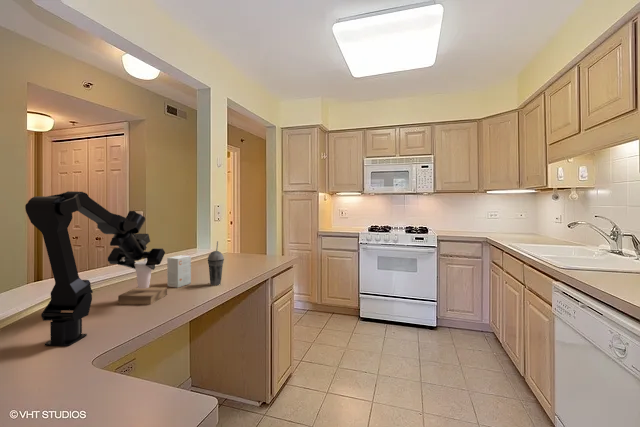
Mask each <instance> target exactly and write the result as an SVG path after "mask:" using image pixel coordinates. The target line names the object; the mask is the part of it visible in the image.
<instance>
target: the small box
mask: <svg viewBox="0 0 640 427" xmlns="http://www.w3.org/2000/svg"><path fill="white" fill-rule="evenodd" d="M166 262H167V263H166V265H167V270H166V272H167V273H166V277H167V282H166V284H167V285H166V286H167V287H171V288H180V287H184V286H187V285H190V284H192V256H191V255H183V254H182V255H180V254H179V255H175V256H170V257H167V260H166Z"/></svg>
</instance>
